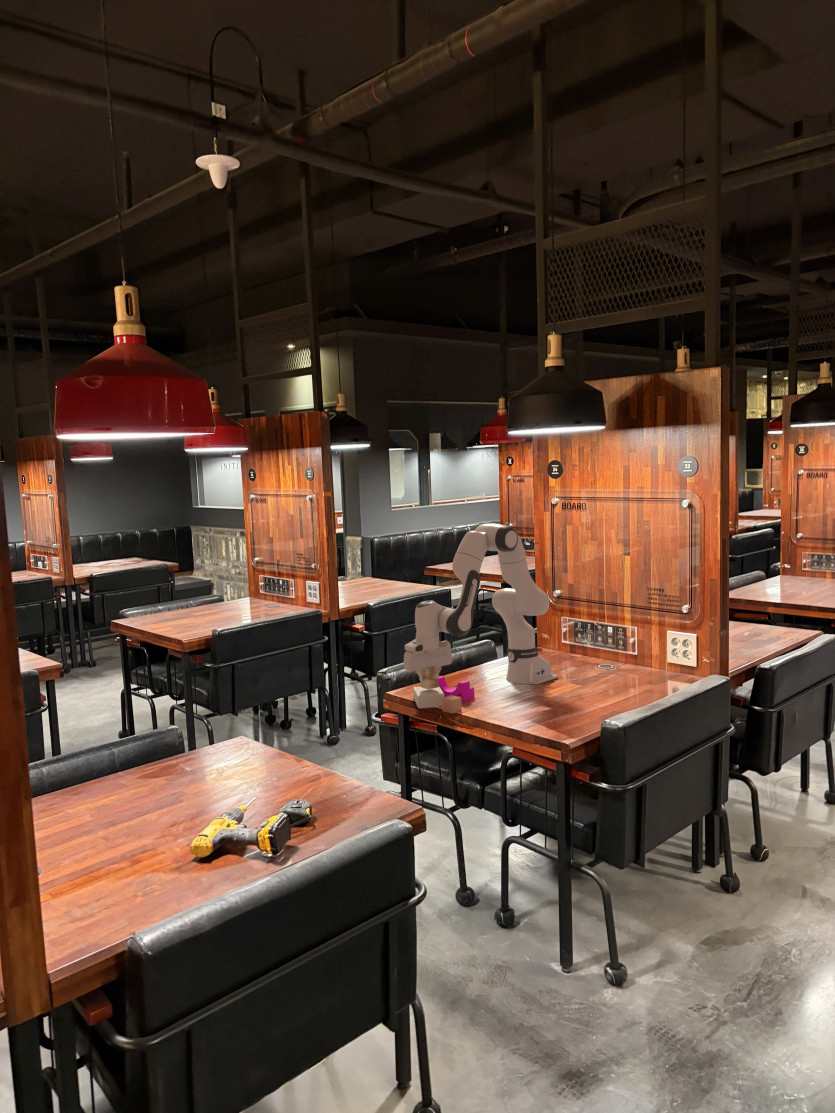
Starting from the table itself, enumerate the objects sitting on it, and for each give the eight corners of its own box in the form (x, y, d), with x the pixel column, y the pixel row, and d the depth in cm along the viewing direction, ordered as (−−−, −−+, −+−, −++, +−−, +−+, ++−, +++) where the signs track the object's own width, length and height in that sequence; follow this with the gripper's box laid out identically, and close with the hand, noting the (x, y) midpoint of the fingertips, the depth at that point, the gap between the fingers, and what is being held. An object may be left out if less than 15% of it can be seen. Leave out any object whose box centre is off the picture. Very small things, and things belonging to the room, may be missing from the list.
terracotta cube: (451, 708, 298) (450, 695, 297) (461, 710, 294) (461, 697, 294) (442, 711, 294) (442, 698, 294) (452, 713, 291) (452, 700, 290)
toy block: (474, 698, 310) (473, 679, 309) (464, 702, 305) (463, 683, 305) (445, 693, 320) (444, 674, 319) (435, 696, 316) (434, 677, 315)
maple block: (431, 684, 310) (430, 664, 309) (438, 687, 305) (437, 666, 305) (420, 687, 307) (419, 666, 306) (427, 689, 303) (426, 668, 302)
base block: (438, 697, 314) (438, 685, 314) (444, 707, 300) (444, 694, 300) (413, 699, 313) (413, 687, 313) (418, 709, 299) (417, 696, 299)
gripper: (445, 638, 313) (447, 673, 314) (400, 646, 302) (402, 682, 303) (454, 640, 308) (456, 676, 309) (409, 648, 297) (411, 685, 298)
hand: (429, 679), depth 306 cm, fingers closed on maple block, 5 cm apart
